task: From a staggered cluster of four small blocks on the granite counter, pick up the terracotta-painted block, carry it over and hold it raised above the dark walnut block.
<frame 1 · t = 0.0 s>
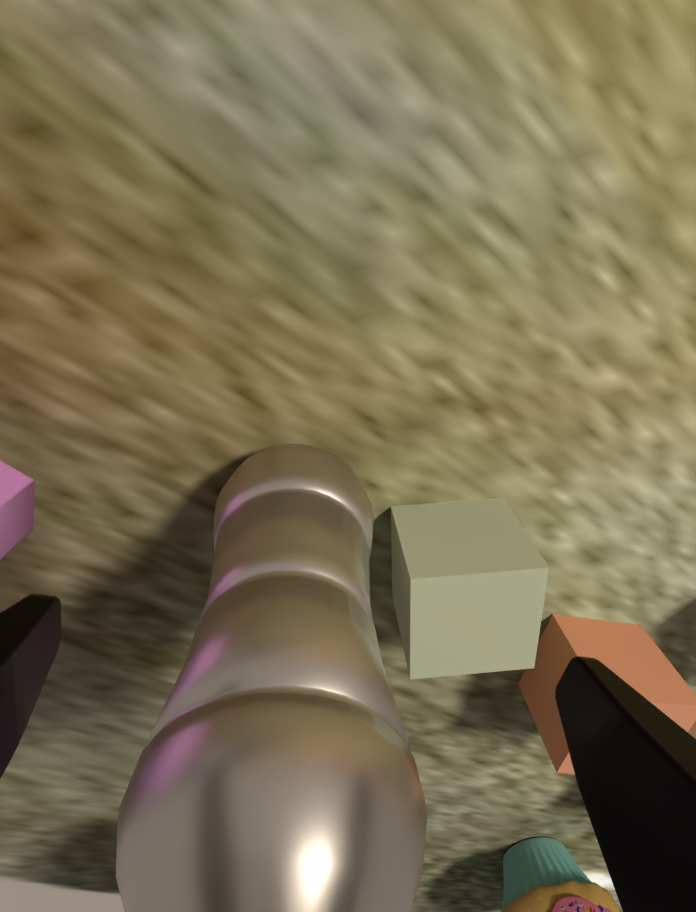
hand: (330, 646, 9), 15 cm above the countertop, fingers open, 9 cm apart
sage block: (444, 547, 27), on the countertop
cupcake: (533, 852, 40), on the countertop
terracotta block: (577, 654, 31), on the countertop
plastic bottle: (295, 489, 25), on the countertop
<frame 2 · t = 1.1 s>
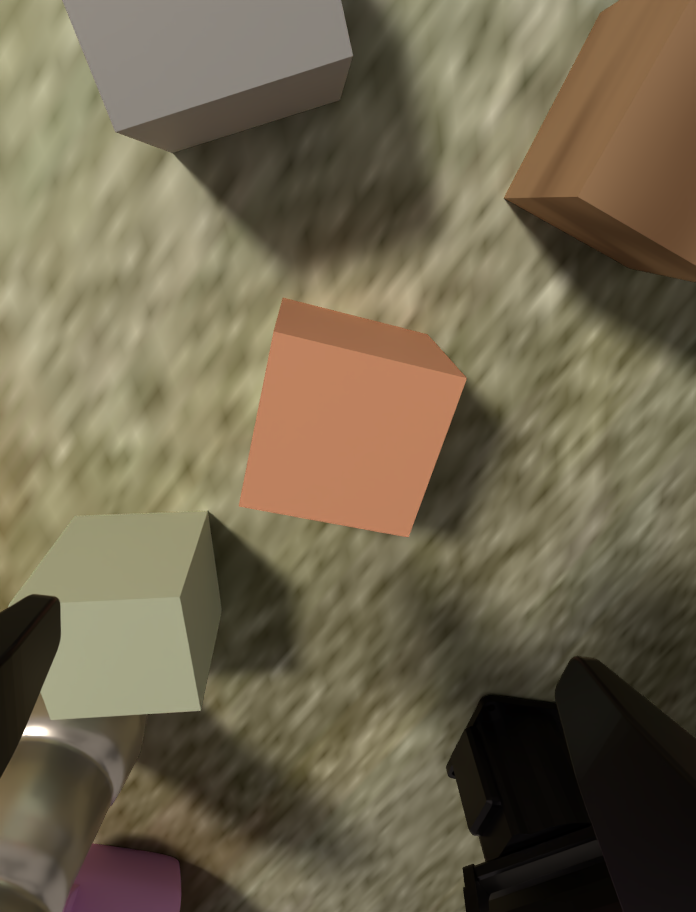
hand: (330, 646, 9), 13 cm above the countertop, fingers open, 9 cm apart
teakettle: (63, 893, 34), on the countertop
sage block: (153, 564, 23), on the countertop
terracotta block: (338, 385, 20), on the countertop
plastic bottle: (95, 685, 26), on the countertop
slate block: (223, 20, 15), on the countertop
walnut block: (615, 153, 17), on the countertop
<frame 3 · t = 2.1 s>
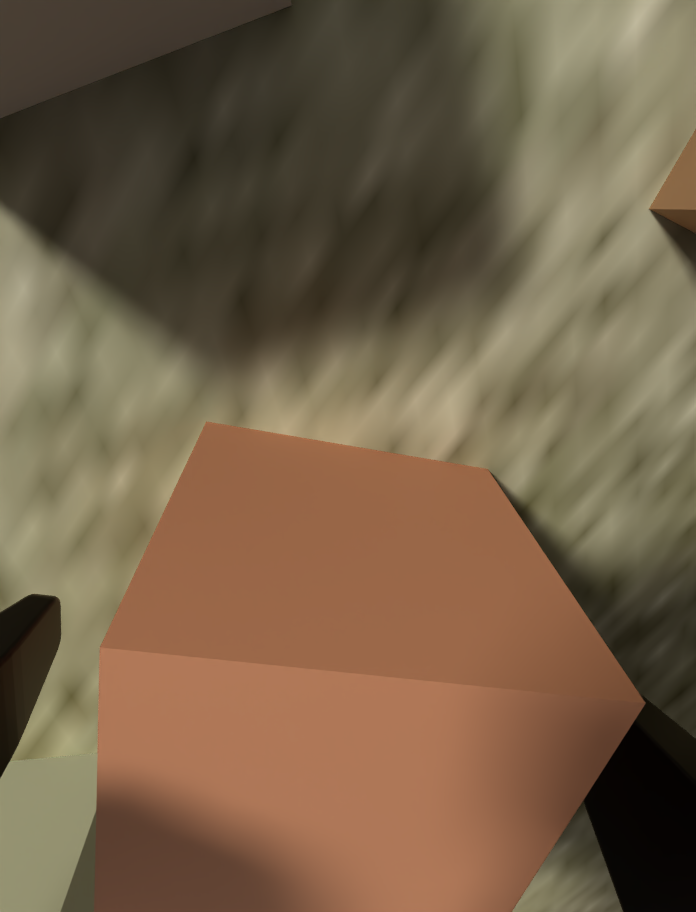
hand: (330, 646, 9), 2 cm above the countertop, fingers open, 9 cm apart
sage block: (40, 823, 14), on the countertop
terracotta block: (324, 559, 11), on the countertop
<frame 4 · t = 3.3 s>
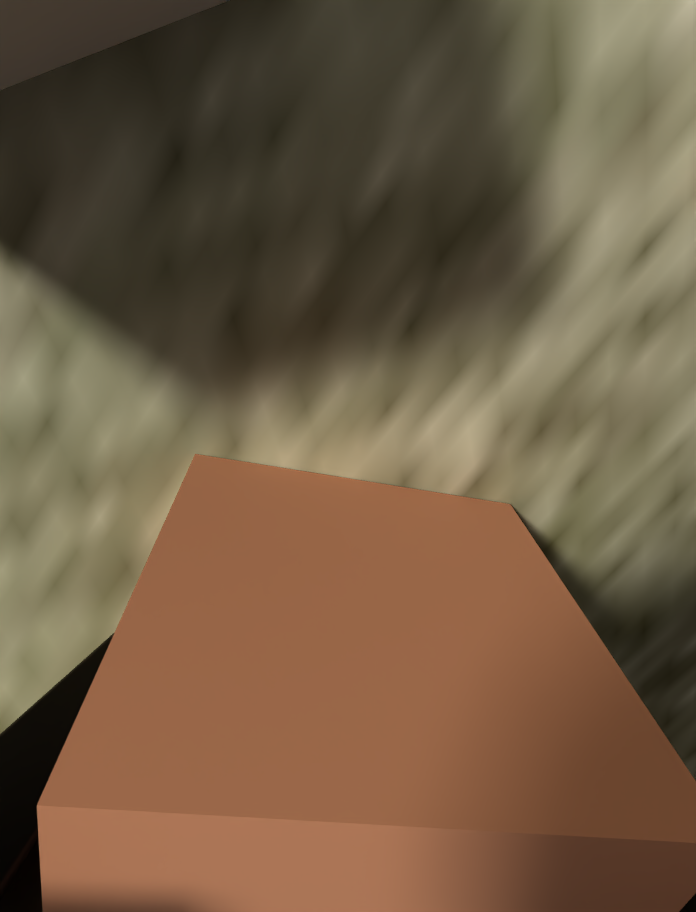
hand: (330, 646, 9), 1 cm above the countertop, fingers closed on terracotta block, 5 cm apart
terracotta block: (328, 604, 10), on the countertop, touching gripper
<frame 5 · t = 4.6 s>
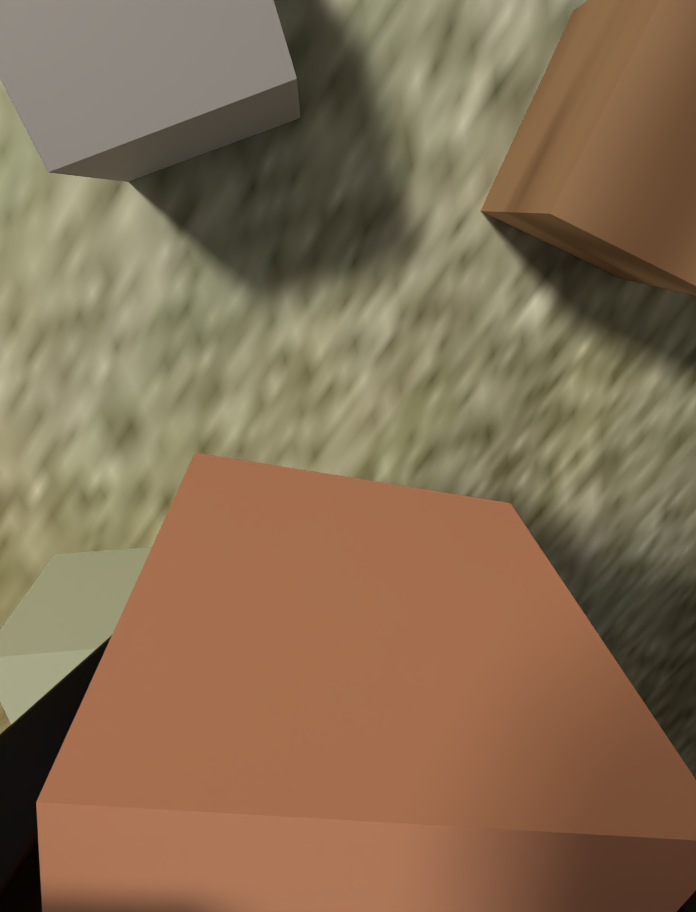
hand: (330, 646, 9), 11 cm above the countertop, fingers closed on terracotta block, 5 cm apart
sage block: (138, 600, 23), on the countertop
terracotta block: (328, 603, 10), point 10 cm above the countertop, touching gripper
slate block: (172, 40, 14), on the countertop
walnut block: (597, 158, 16), on the countertop
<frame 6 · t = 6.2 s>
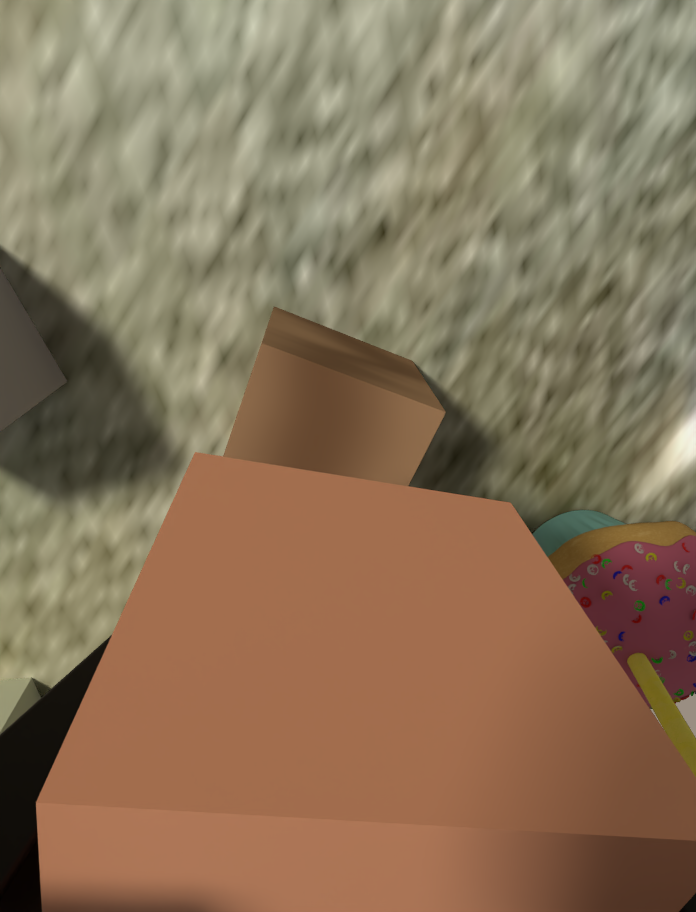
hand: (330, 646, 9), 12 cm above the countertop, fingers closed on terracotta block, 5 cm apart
cupcake: (571, 547, 25), on the countertop
terracotta block: (328, 603, 10), point 11 cm above the countertop, touching gripper
walnut block: (318, 399, 20), on the countertop
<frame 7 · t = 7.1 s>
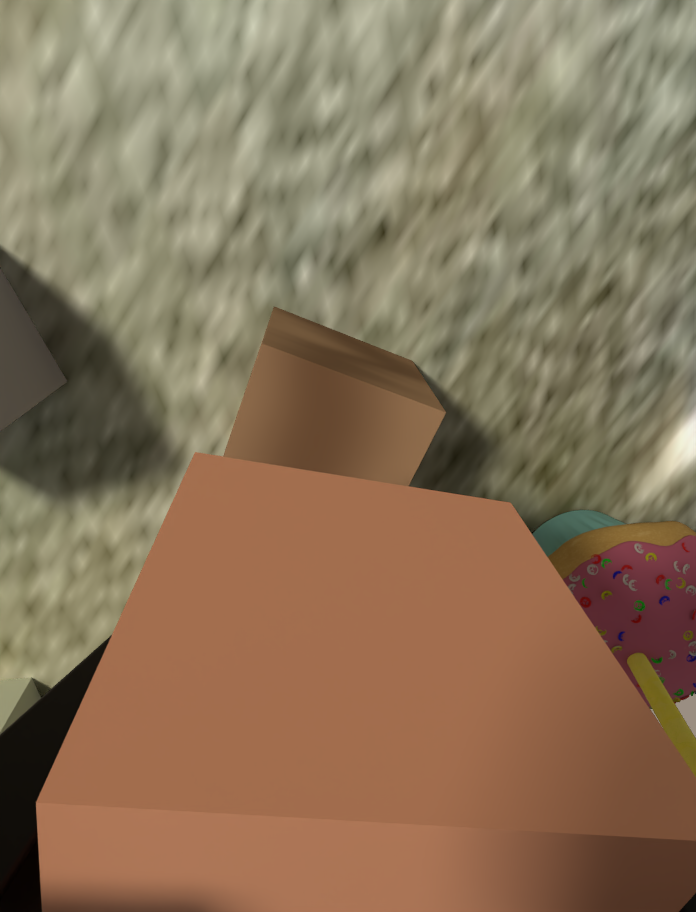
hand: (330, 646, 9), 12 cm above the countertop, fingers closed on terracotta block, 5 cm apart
cupcake: (571, 547, 25), on the countertop
terracotta block: (328, 603, 10), point 11 cm above the countertop, touching gripper
walnut block: (318, 399, 20), on the countertop
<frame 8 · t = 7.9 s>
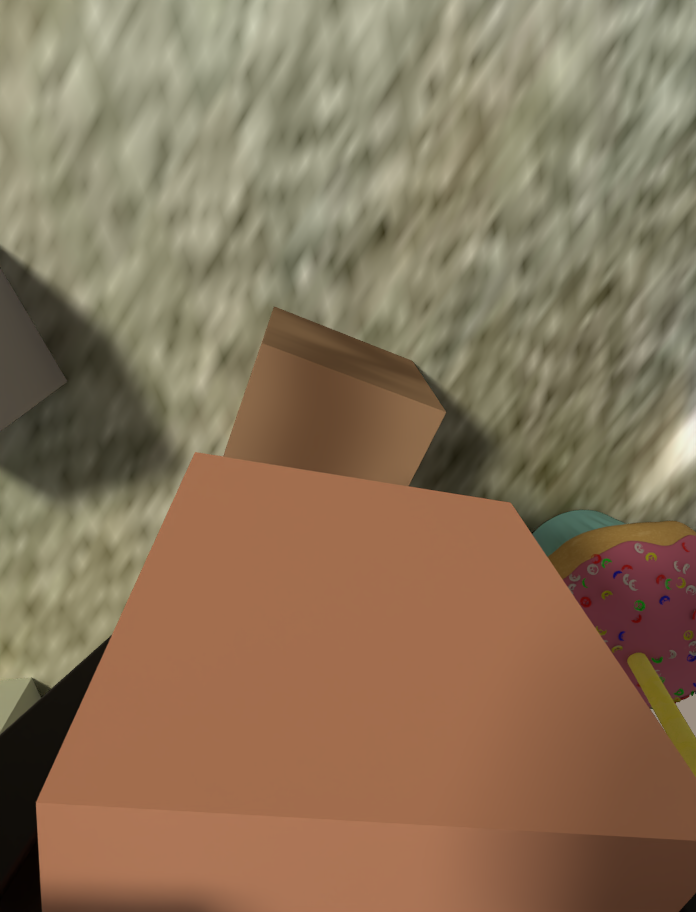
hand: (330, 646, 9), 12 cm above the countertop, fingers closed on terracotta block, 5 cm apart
cupcake: (571, 547, 25), on the countertop
terracotta block: (328, 603, 10), point 11 cm above the countertop, touching gripper
walnut block: (318, 399, 20), on the countertop
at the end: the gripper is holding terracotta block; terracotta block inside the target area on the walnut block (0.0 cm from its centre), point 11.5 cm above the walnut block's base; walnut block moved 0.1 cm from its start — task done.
